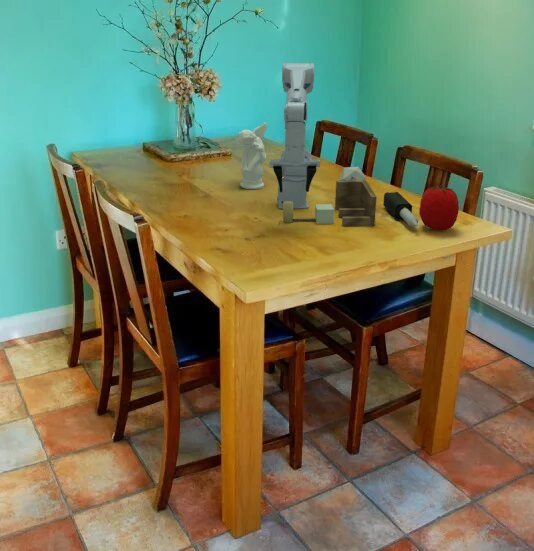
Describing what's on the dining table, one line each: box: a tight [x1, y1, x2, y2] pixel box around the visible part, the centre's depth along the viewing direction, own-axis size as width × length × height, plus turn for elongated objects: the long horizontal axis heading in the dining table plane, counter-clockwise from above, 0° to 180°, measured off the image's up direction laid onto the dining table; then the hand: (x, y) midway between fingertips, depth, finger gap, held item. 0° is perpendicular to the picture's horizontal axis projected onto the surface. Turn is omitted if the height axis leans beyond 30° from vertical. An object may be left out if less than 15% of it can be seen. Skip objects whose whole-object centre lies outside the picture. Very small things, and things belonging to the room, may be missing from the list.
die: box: [337, 166, 367, 181], centre depth 238 cm, size 8×9×10 cm
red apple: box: [418, 183, 460, 232], centre depth 201 cm, size 12×12×13 cm
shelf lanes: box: [334, 180, 377, 227], centre depth 211 cm, size 10×17×9 cm, turn 2°
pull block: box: [282, 201, 335, 225], centre depth 208 cm, size 15×5×6 cm, turn 94°
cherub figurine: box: [238, 121, 268, 190], centre depth 241 cm, size 12×12×22 cm
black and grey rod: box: [382, 191, 419, 228], centre depth 210 cm, size 5×5×25 cm
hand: (294, 191), depth 202 cm, fingers open, 7 cm apart
